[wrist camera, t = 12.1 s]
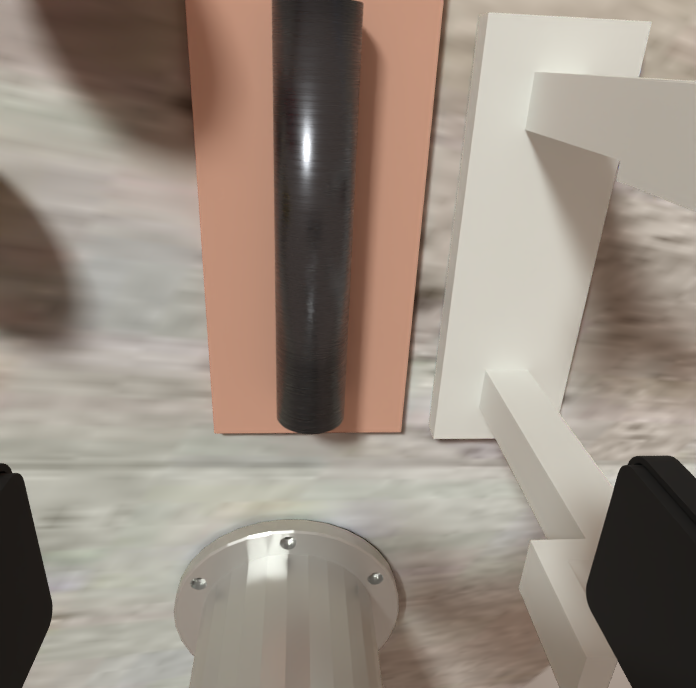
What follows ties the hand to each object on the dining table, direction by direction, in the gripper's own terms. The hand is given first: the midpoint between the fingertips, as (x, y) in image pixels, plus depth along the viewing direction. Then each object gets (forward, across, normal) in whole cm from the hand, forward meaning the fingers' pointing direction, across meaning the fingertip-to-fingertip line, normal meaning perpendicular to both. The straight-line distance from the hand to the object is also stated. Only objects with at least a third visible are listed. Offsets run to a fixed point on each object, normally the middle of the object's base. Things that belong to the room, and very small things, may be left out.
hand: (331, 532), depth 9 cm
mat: (+17, 0, -1) cm, 17 cm away
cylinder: (+15, 0, -1) cm, 15 cm away
